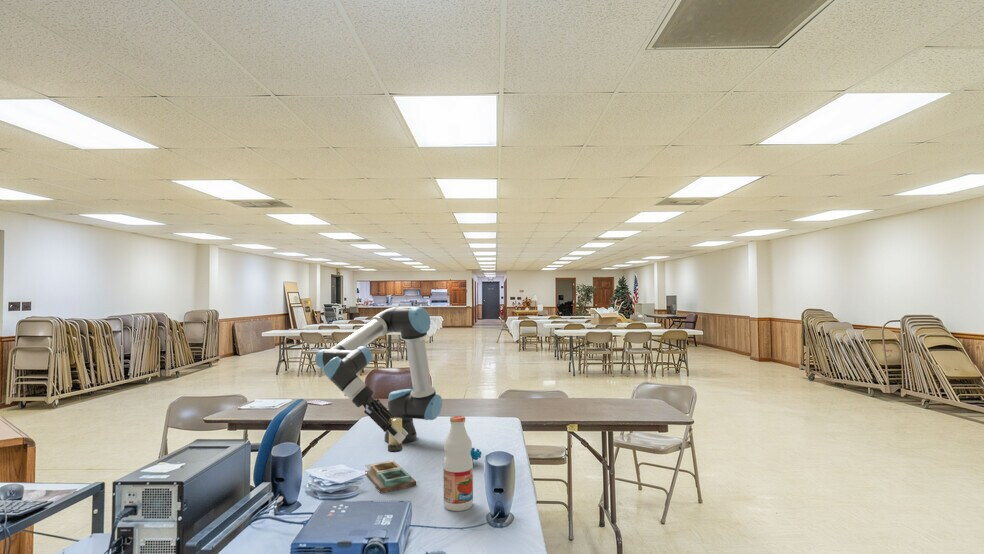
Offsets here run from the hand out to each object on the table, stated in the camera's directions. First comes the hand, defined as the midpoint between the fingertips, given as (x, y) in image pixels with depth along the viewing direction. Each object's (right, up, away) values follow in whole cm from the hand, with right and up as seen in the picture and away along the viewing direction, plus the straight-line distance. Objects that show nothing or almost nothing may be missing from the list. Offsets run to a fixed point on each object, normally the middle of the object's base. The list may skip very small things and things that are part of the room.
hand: (404, 438), depth 172 cm
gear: (+22, -17, +20) cm, 34 cm away
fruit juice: (+21, -15, -19) cm, 32 cm away
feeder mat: (-12, -17, +17) cm, 27 cm away
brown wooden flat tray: (-6, -16, +4) cm, 18 cm away
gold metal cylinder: (-3, -4, 0) cm, 5 cm away
